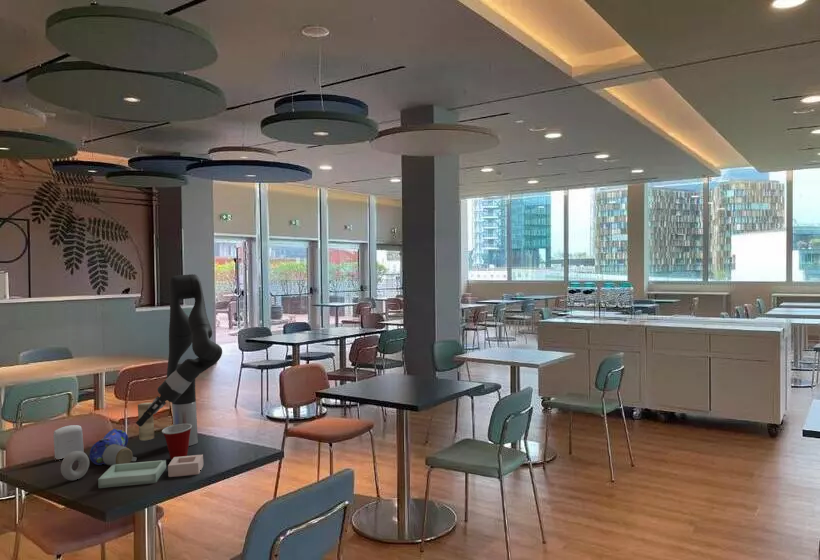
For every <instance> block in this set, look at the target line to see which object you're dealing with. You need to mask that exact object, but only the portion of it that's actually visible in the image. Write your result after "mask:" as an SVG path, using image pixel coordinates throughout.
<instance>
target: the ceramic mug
mask: <svg viewBox="0 0 820 560" xmlns="http://www.w3.org/2000/svg"><path fill="white" fill-rule="evenodd" d="M103 461H104V463H105V464H104V465H106V466H107V465H108V466H110V467H111V466H112V465H114V464H125V463H132V462H133V463H136V462H137V457H136V456H133V451H132V450H131V449H130V448H128V447H127V446H125V447H123V446H120V445H117V444H112V445H109V446H108V447H107V448H106V449H105V451H104V453H103Z"/></svg>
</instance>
